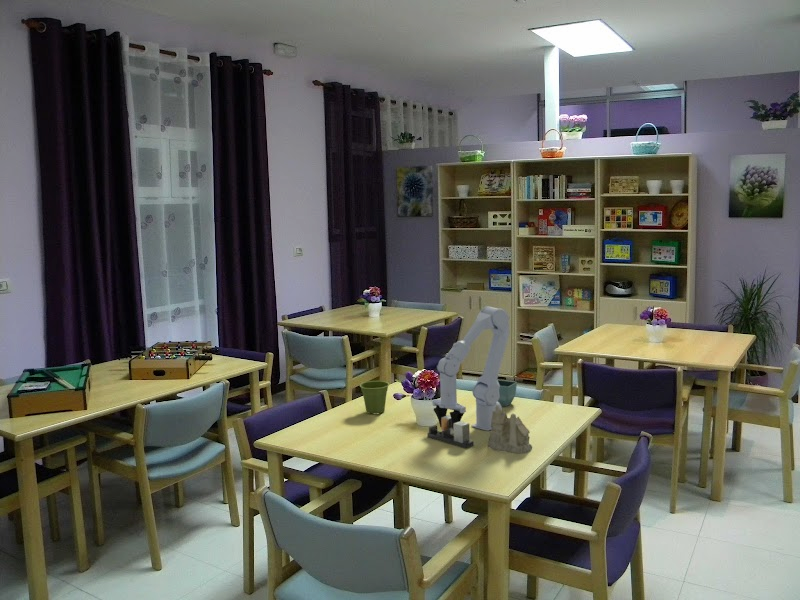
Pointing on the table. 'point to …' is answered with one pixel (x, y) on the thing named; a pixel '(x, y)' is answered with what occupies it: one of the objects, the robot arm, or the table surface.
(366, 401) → the plant pot
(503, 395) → the flower pot
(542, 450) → the table surface
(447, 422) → the grey and orange block
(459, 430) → the rail
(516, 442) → the ceramic cottage
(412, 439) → the table surface
